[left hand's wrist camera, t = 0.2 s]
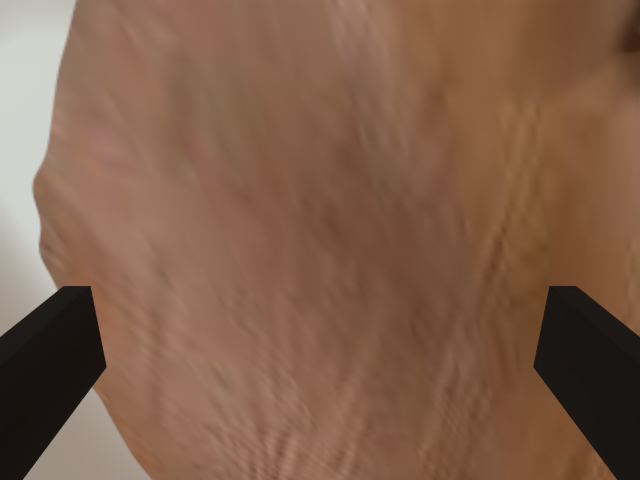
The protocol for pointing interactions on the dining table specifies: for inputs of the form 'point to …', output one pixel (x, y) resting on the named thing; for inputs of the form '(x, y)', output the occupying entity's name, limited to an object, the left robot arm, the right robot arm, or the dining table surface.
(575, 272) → the dining table surface
